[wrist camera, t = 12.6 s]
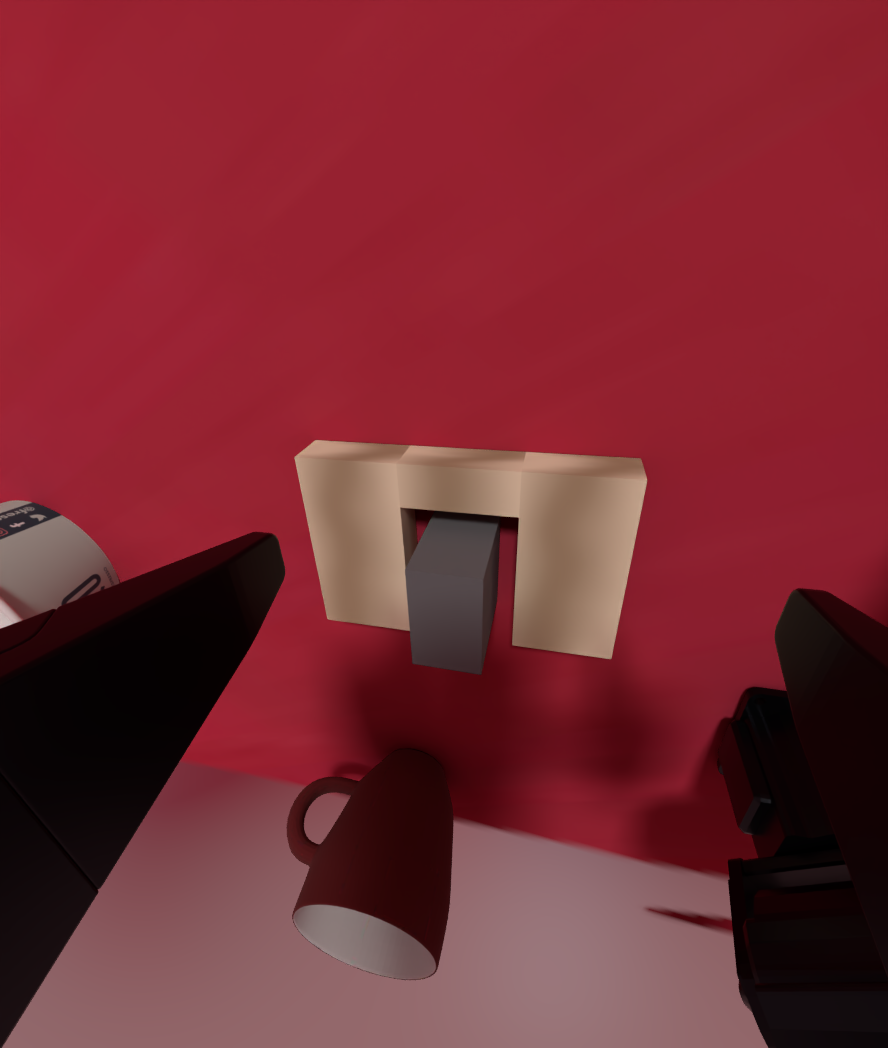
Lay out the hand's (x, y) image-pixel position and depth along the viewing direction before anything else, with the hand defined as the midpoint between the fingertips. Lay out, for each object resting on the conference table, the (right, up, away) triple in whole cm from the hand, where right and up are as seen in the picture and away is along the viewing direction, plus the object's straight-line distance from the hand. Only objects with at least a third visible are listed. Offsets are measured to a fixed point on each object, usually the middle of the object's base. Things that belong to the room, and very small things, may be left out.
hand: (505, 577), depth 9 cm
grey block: (0, -1, +15) cm, 15 cm away
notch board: (0, 0, +14) cm, 14 cm away
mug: (-4, -16, +25) cm, 30 cm away
